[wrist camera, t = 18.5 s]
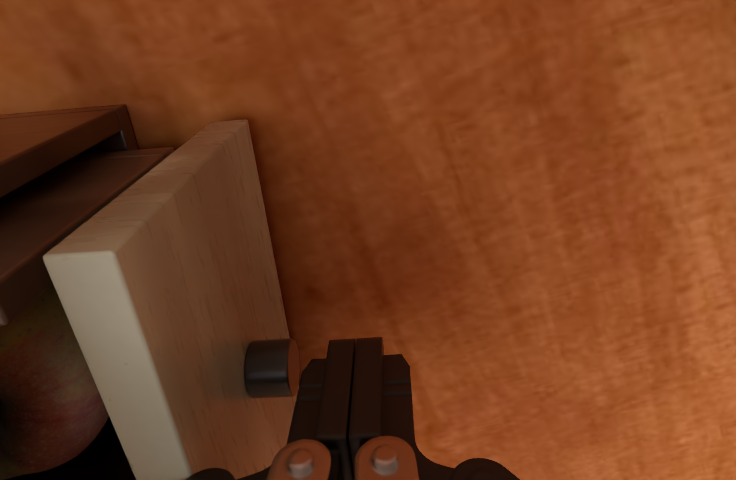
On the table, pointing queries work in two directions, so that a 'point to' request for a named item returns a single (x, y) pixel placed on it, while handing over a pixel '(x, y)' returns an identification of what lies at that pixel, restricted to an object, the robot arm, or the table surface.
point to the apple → (44, 391)
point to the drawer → (162, 303)
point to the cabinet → (58, 140)
